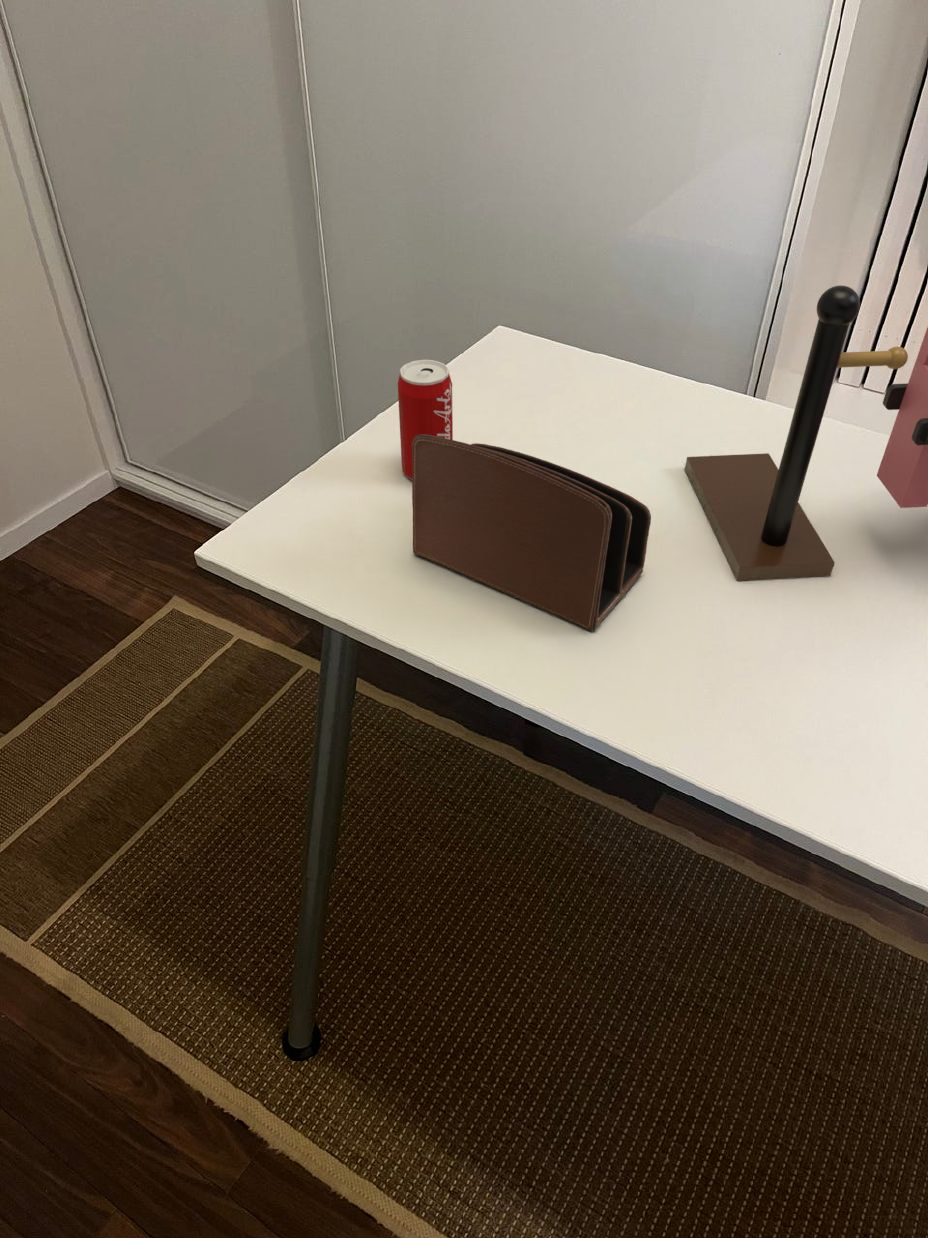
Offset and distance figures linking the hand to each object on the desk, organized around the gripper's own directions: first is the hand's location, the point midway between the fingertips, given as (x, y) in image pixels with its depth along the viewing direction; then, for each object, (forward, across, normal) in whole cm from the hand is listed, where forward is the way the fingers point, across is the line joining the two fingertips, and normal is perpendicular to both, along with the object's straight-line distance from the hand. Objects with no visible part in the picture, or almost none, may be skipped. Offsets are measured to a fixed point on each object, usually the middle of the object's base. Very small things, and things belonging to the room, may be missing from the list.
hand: (901, 414), depth 82 cm
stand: (+7, -6, +15) cm, 17 cm away
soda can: (+41, -17, +15) cm, 47 cm away
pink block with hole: (-3, 0, +8) cm, 8 cm away
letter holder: (+32, 0, +15) cm, 35 cm away
